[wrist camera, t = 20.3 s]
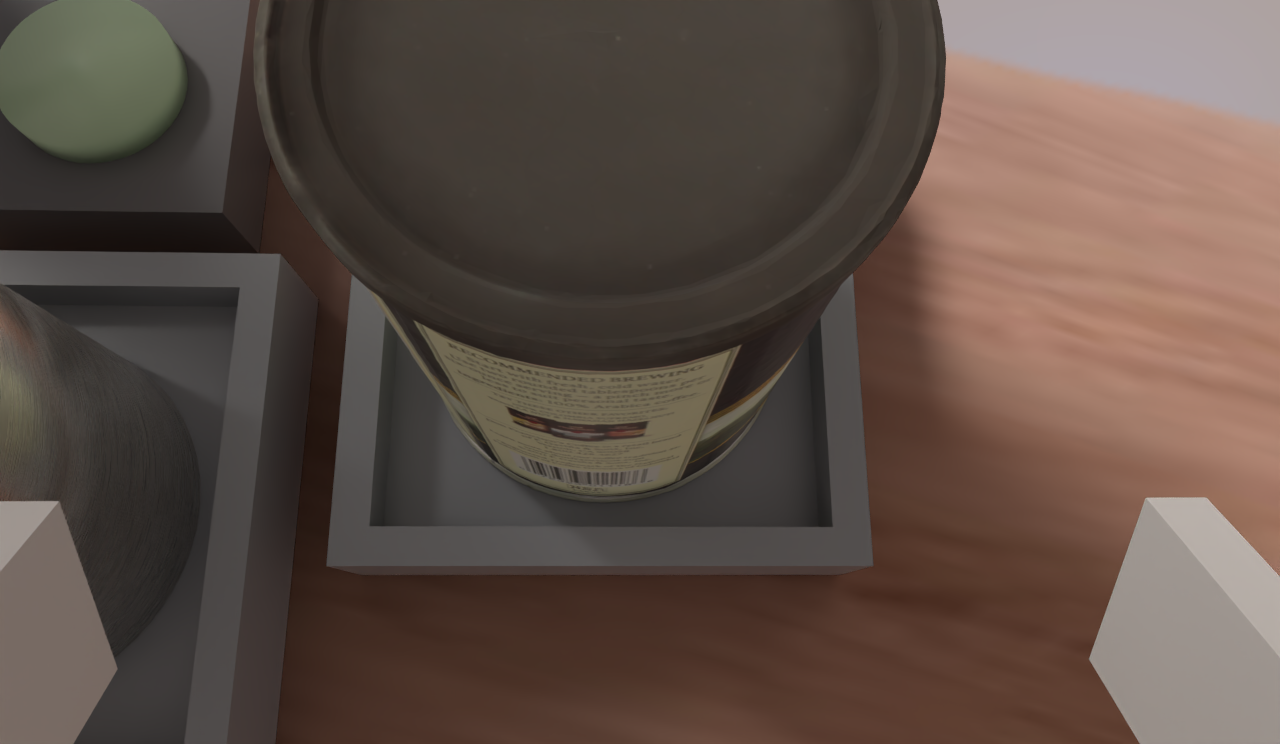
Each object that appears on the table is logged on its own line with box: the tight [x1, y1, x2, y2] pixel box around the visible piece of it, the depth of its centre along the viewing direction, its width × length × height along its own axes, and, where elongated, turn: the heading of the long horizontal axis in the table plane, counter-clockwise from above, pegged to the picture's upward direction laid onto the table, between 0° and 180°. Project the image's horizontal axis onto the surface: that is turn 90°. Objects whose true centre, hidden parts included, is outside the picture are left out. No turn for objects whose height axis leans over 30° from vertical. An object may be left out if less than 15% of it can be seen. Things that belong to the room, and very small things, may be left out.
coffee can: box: [253, 0, 946, 503], centre depth 21 cm, size 10×10×14 cm
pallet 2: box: [326, 273, 873, 575], centre depth 28 cm, size 14×14×4 cm
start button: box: [0, 0, 271, 254], centre depth 29 cm, size 8×8×4 cm
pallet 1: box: [0, 250, 319, 744], centre depth 25 cm, size 14×14×4 cm
